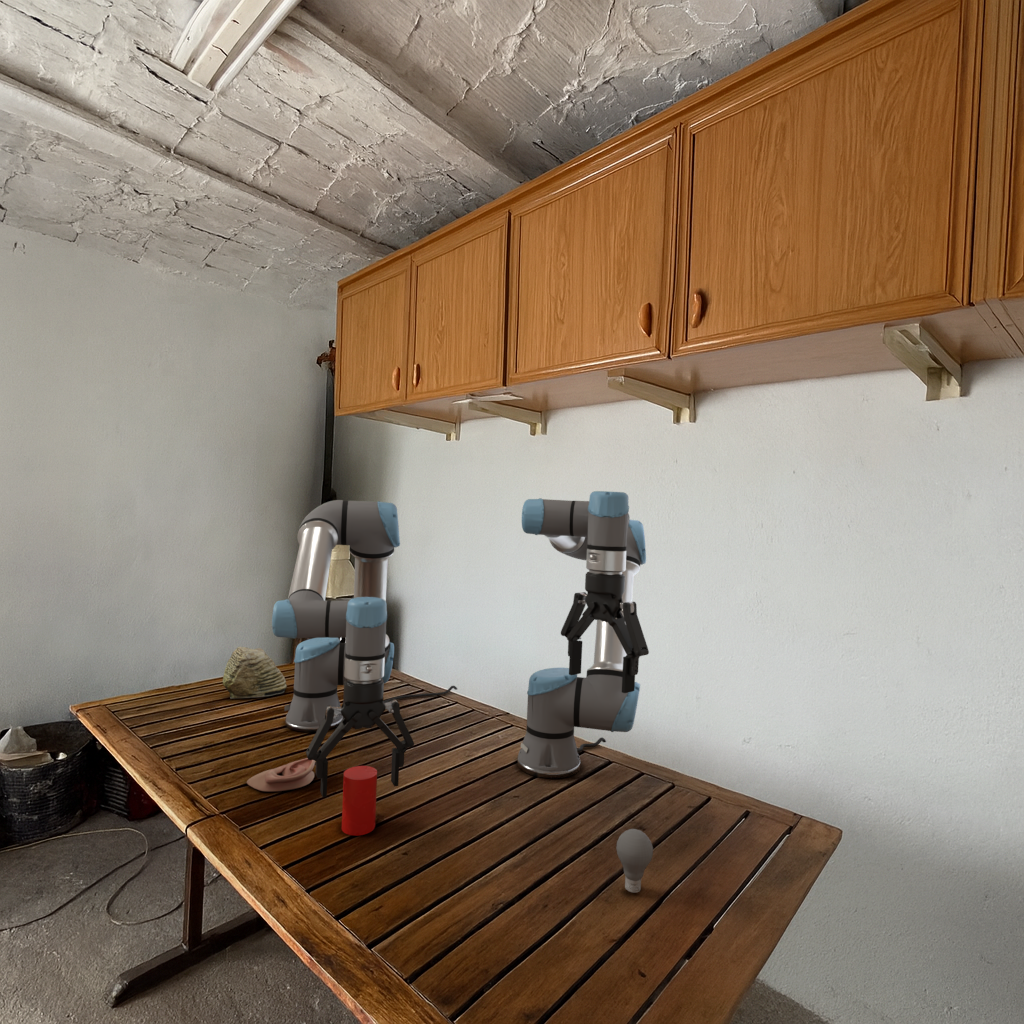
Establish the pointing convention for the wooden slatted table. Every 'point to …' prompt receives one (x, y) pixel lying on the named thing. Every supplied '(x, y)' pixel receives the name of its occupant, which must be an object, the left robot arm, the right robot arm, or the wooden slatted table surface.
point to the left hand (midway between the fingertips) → (359, 788)
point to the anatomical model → (284, 776)
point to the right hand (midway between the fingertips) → (600, 682)
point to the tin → (359, 800)
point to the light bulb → (634, 857)
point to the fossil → (252, 674)
